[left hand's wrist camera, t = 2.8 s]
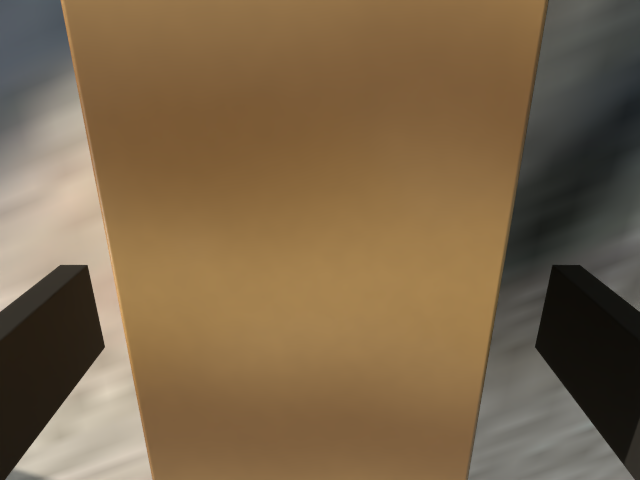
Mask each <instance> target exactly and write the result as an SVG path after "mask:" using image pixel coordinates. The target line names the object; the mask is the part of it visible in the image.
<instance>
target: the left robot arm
mask: <svg viewBox="0 0 640 480" xmlns="http://www.w3.org/2000/svg"><path fill="white" fill-rule="evenodd" d="M104 348H105V345H104V340H103V336H102V331H101V326H100V322H99V317H98V312H97V307H96V303H95V298H94V293H93V289H92V284H91V279H90V275H89V270H88V265H60V266H59V267H57V268H56V269H55V270H53V271H52V272H51V273H50V274H48V275H47V276H46V277H44V278H43V279H42V280H41V281H39V282H38V283H37V284H35V285H34V286H33V287H32V288H30V289H29V290H28V291H27V292H25V293H24V294H23V295H21V296H20V297H19V298H18V299H16V300H15V301H14V302H12V303H11V304H10V305H9V306H7V307H6V308H5V309H4V310H2V311H1V312H0V480H5V479H6V478H7V476H8V475H9V474H10V472H11V471H12V470H13V468H14V467H15V466H16V464H17V463H18V462H19V460H20V459H21V458H22V456H23V455H24V454H25V452H26V451H27V450H28V448H29V447H30V446H31V444H32V443H33V442H34V440H35V439H36V438H37V436H38V435H39V434H40V433H41V431H42V430H43V429H44V427H45V426H46V425H47V423H48V422H49V421H50V419H51V418H52V417H53V415H54V414H55V413H56V411H57V410H58V409H59V407H60V406H61V405H62V403H63V402H64V401H65V399H66V398H67V397H68V395H69V394H70V393H71V391H72V390H73V389H74V387H75V386H76V385H77V383H78V382H79V381H80V380H81V378H82V377H83V376H84V374H85V373H86V372H87V370H88V369H89V368H90V366H91V365H92V364H93V362H94V361H95V360H96V358H97V357H98V356H99V354H100V353H101V352H102V350H103V349H104ZM535 348H536V349H537V350H538V352H539V353H540V354H541V356H542V357H543V358H544V360H545V361H546V362H547V364H548V365H549V366H550V368H551V369H552V370H553V372H554V373H555V374H556V376H557V377H558V378H559V380H560V381H561V382H562V383H563V385H564V386H565V387H566V389H567V390H568V391H569V393H570V394H571V395H572V397H573V398H574V399H575V401H576V402H577V403H578V405H579V406H580V407H581V409H582V410H583V411H584V413H585V414H586V415H587V417H588V418H589V419H590V421H591V422H592V423H593V425H594V426H595V427H596V429H597V430H598V431H599V433H600V434H601V435H602V436H603V438H604V439H605V440H606V442H607V443H608V444H609V446H610V447H611V448H612V450H613V451H614V452H615V454H616V455H617V456H618V458H619V459H620V460H621V462H622V463H623V464H624V466H625V467H626V468H627V470H628V471H629V472H630V474H631V475H632V476H633V478H634V479H635V480H640V312H639V311H638V310H636V309H635V308H634V307H633V306H631V305H630V304H629V303H628V302H626V301H625V300H624V299H622V298H621V297H620V296H619V295H617V294H616V293H615V292H613V291H612V290H611V289H610V288H608V287H607V286H606V285H605V284H603V283H602V282H601V281H599V280H598V279H597V278H596V277H594V276H593V275H592V274H590V273H589V272H588V271H587V270H585V269H584V268H583V267H581V266H580V265H552V270H551V275H550V279H549V284H548V289H547V293H546V298H545V303H544V307H543V312H542V317H541V322H540V326H539V331H538V336H537V340H536V345H535Z"/></svg>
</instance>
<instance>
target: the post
mask: <svg viewBox="0 0 640 480" xmlns="http://www.w3.org/2000/svg"><path fill="white" fill-rule="evenodd" d="M548 1H549V0H61V3H62V9H63V14H64V19H65V24H66V29H67V35H68V40H69V45H70V50H71V56H72V61H73V66H74V71H75V76H76V82H77V87H78V92H79V97H80V103H81V108H82V113H83V118H84V123H85V129H86V134H87V139H88V144H89V150H90V155H91V160H92V165H93V170H94V176H95V181H96V186H97V191H98V197H99V202H100V207H101V212H102V217H103V223H104V228H105V233H106V238H107V244H108V249H109V254H110V259H111V264H112V270H113V275H114V280H115V285H116V291H117V296H118V301H119V306H120V311H121V317H122V322H123V327H124V332H125V338H126V343H127V348H128V353H129V358H130V364H131V369H132V374H133V379H134V385H135V390H136V395H137V400H138V405H139V411H140V416H141V421H142V426H143V432H144V437H145V442H146V447H147V452H148V458H149V463H150V468H151V473H152V479H153V480H468V475H469V469H470V463H471V457H472V451H473V445H474V439H475V433H476V427H477V421H478V415H479V409H480V403H481V398H482V392H483V386H484V380H485V374H486V368H487V362H488V356H489V350H490V344H491V338H492V332H493V327H494V321H495V315H496V309H497V303H498V297H499V291H500V285H501V279H502V273H503V267H504V261H505V255H506V250H507V244H508V238H509V232H510V226H511V220H512V214H513V208H514V202H515V196H516V190H517V184H518V179H519V173H520V167H521V161H522V155H523V149H524V143H525V137H526V131H527V125H528V119H529V113H530V107H531V102H532V96H533V90H534V84H535V78H536V72H537V66H538V60H539V54H540V48H541V42H542V36H543V31H544V25H545V19H546V13H547V7H548Z"/></svg>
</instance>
